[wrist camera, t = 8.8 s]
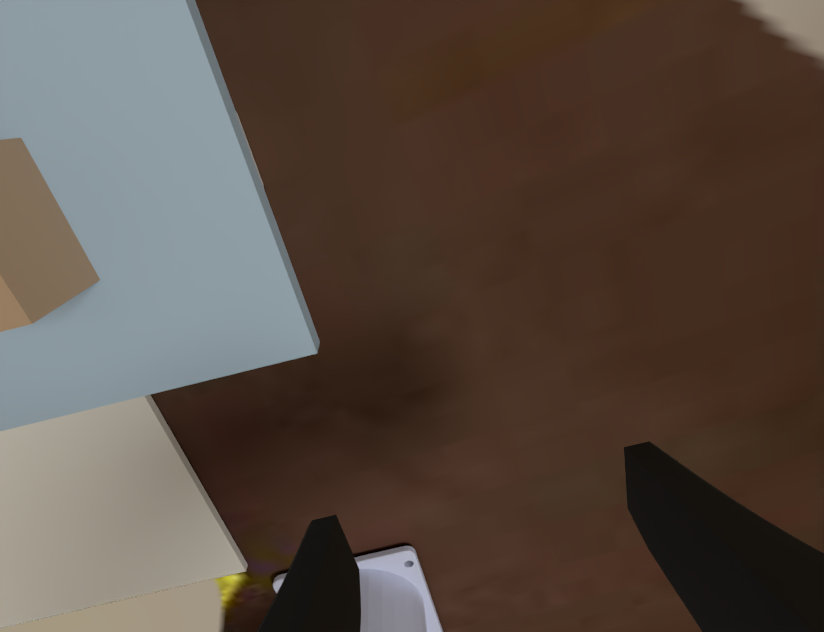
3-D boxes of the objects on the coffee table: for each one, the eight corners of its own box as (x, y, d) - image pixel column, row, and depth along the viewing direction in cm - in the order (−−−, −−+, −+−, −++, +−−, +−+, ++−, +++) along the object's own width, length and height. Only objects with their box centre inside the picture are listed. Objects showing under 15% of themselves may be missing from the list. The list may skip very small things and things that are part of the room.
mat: (247, 564, 26) (246, 571, 25) (5, 620, 26) (0, 628, 26) (121, 344, 20) (117, 349, 19) (-187, 422, 20) (-198, 428, 20)
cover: (320, 342, 16) (304, 408, 13) (-14, 424, 16) (-118, 510, 13) (158, -101, 11) (57, -193, 8) (-316, 34, 11) (-617, 4, 8)
